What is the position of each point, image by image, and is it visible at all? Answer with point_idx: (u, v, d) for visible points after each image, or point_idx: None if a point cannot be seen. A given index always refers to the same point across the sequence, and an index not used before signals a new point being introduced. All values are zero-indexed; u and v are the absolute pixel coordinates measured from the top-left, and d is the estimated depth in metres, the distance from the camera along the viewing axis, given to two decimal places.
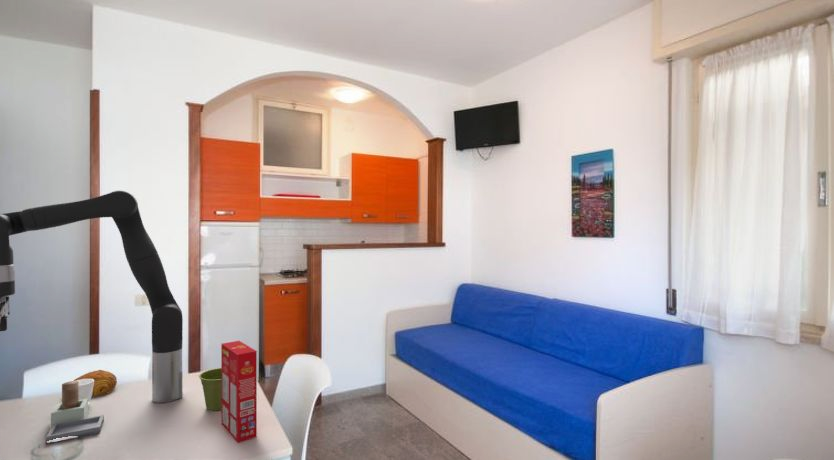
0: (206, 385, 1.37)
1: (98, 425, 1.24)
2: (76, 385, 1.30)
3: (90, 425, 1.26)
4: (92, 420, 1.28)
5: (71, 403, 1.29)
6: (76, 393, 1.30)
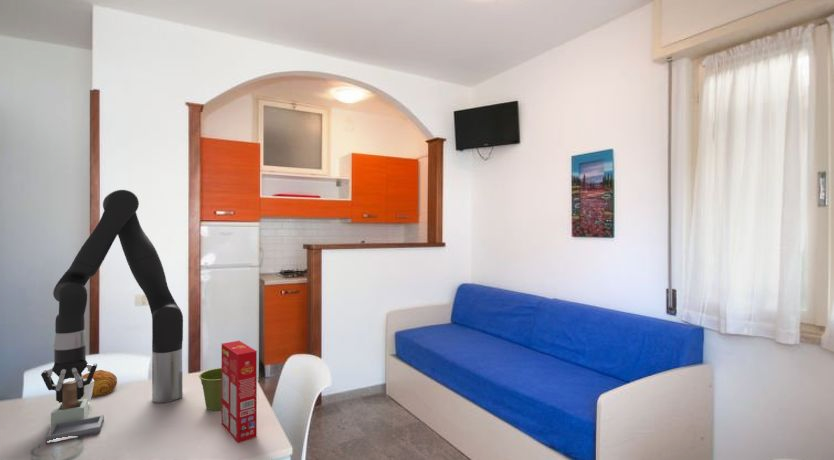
0: (206, 385, 1.37)
1: (98, 425, 1.24)
2: (76, 385, 1.30)
3: (90, 425, 1.26)
4: (92, 420, 1.28)
5: (71, 403, 1.29)
6: (76, 393, 1.30)
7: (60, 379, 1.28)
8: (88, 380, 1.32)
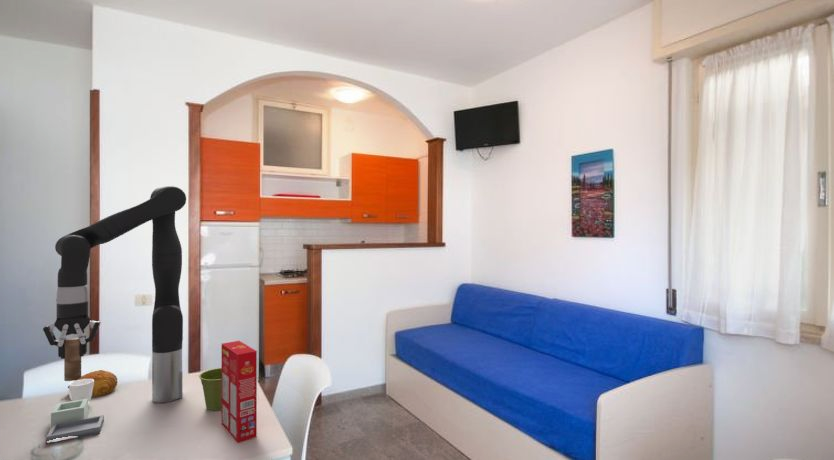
0: (206, 385, 1.37)
1: (98, 425, 1.24)
2: (79, 341, 1.27)
3: (90, 425, 1.26)
4: (92, 420, 1.28)
5: (74, 359, 1.26)
6: (79, 350, 1.27)
7: (62, 334, 1.25)
8: (91, 336, 1.28)
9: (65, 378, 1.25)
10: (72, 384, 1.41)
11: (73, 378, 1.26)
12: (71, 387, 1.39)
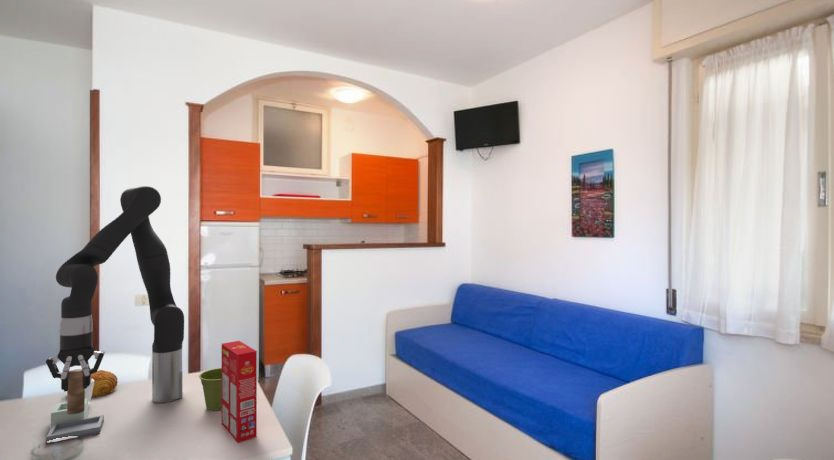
0: (206, 385, 1.37)
1: (98, 425, 1.24)
2: (82, 373, 1.24)
3: (90, 425, 1.26)
4: (92, 420, 1.28)
5: (77, 392, 1.22)
6: (82, 382, 1.24)
7: (65, 366, 1.21)
8: (95, 368, 1.25)
9: (68, 411, 1.22)
10: None
11: (76, 411, 1.22)
12: None
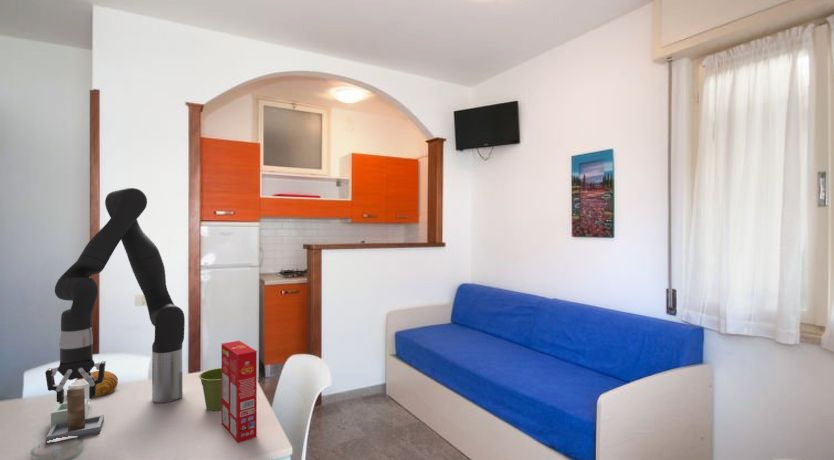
0: (206, 385, 1.37)
1: (98, 425, 1.24)
2: (82, 391, 1.24)
3: (90, 425, 1.26)
4: (92, 420, 1.28)
5: (77, 410, 1.22)
6: (82, 399, 1.24)
7: (64, 379, 1.21)
8: (100, 378, 1.25)
9: (69, 429, 1.22)
10: (72, 384, 1.41)
11: (77, 429, 1.22)
12: (71, 387, 1.39)
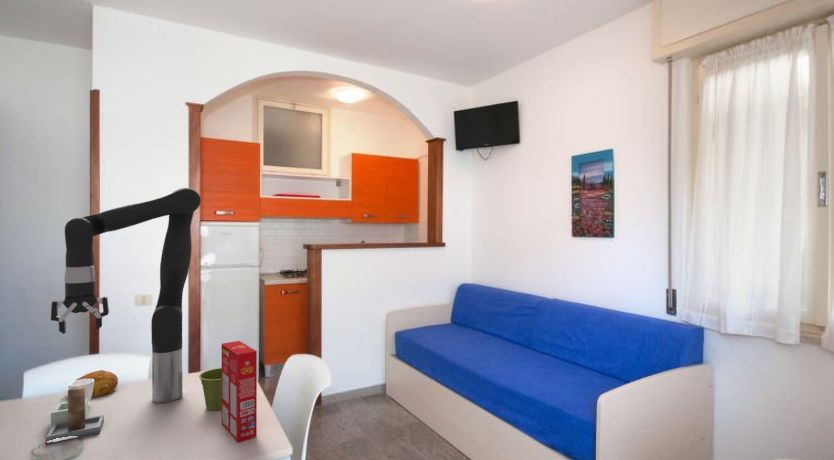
0: (206, 385, 1.37)
1: (98, 425, 1.24)
2: (83, 391, 1.24)
3: (90, 425, 1.26)
4: (92, 420, 1.28)
5: (78, 410, 1.22)
6: (83, 399, 1.24)
7: (67, 311, 1.30)
8: (105, 311, 1.35)
9: (69, 429, 1.22)
10: (72, 384, 1.41)
11: (77, 429, 1.22)
12: (71, 387, 1.39)
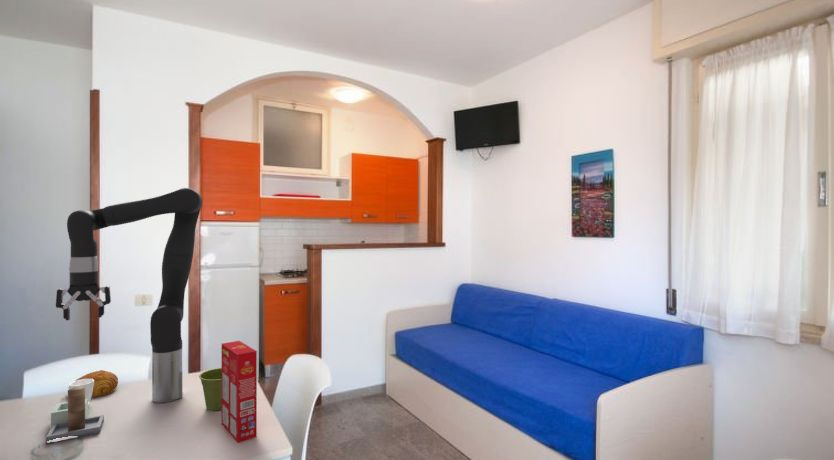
0: (206, 385, 1.37)
1: (98, 425, 1.24)
2: (83, 391, 1.24)
3: (90, 425, 1.26)
4: (92, 420, 1.28)
5: (77, 410, 1.22)
6: (83, 399, 1.24)
7: (71, 299, 1.37)
8: (107, 299, 1.42)
9: (69, 429, 1.22)
10: (72, 384, 1.41)
11: (77, 429, 1.22)
12: (71, 387, 1.39)
